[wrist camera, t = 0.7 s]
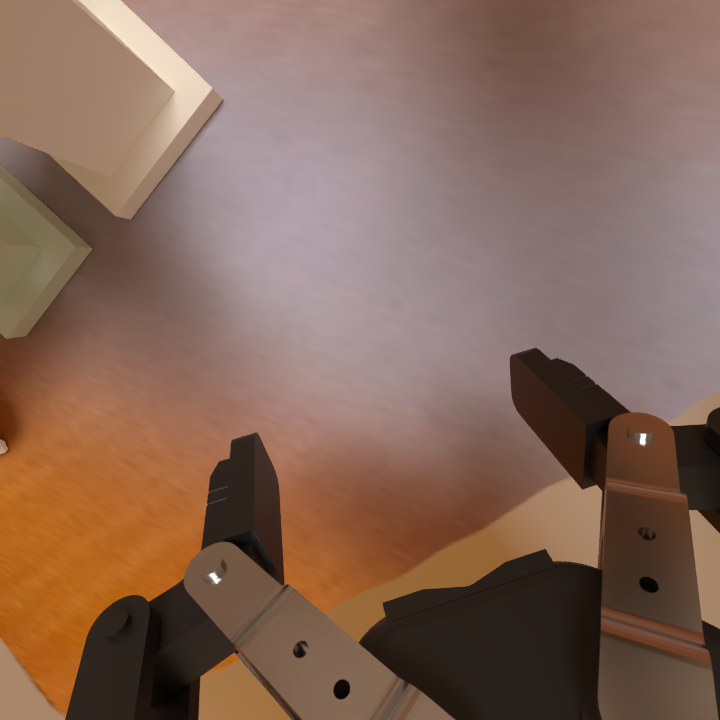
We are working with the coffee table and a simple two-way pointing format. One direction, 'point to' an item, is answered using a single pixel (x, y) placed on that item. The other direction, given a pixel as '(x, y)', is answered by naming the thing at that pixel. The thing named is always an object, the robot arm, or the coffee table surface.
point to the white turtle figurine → (3, 447)
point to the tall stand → (98, 95)
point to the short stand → (31, 256)
